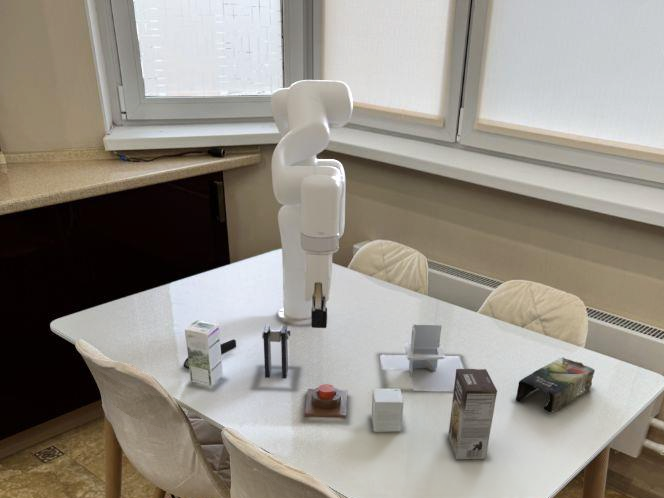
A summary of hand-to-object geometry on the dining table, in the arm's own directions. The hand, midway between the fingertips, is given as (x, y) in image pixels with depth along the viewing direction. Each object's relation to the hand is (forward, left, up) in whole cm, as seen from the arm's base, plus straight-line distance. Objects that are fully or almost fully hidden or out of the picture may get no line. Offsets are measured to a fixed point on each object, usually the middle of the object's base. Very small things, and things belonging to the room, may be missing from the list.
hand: (319, 326), depth 147 cm
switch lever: (-5, -17, -10) cm, 20 cm away
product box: (-1, +18, -19) cm, 26 cm away
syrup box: (+10, -25, -19) cm, 33 cm away
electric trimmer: (+1, -33, -19) cm, 38 cm away
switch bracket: (-2, -14, -18) cm, 23 cm away
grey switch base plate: (-27, +12, -19) cm, 35 cm away
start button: (+2, +4, -15) cm, 15 cm away
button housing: (+2, +4, -18) cm, 19 cm away
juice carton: (-37, +42, -19) cm, 59 cm away
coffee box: (-4, +36, -19) cm, 40 cm away
